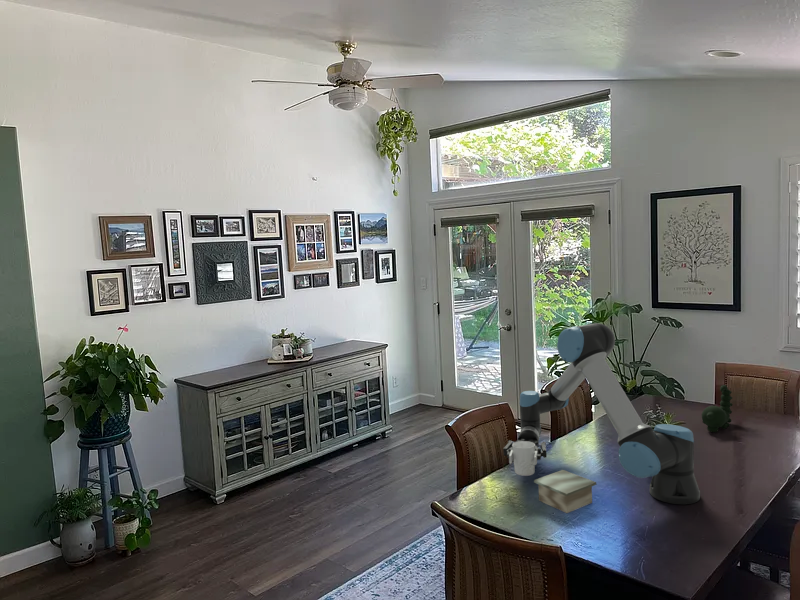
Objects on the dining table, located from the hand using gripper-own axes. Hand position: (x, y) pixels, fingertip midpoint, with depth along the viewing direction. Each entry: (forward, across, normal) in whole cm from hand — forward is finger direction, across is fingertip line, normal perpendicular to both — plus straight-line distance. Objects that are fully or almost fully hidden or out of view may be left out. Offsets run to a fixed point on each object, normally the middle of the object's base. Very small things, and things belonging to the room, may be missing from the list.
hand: (522, 460), depth 201 cm
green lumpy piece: (-82, -76, -12) cm, 112 cm away
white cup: (-5, 0, -6) cm, 8 cm away
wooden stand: (+4, -14, -12) cm, 19 cm away
